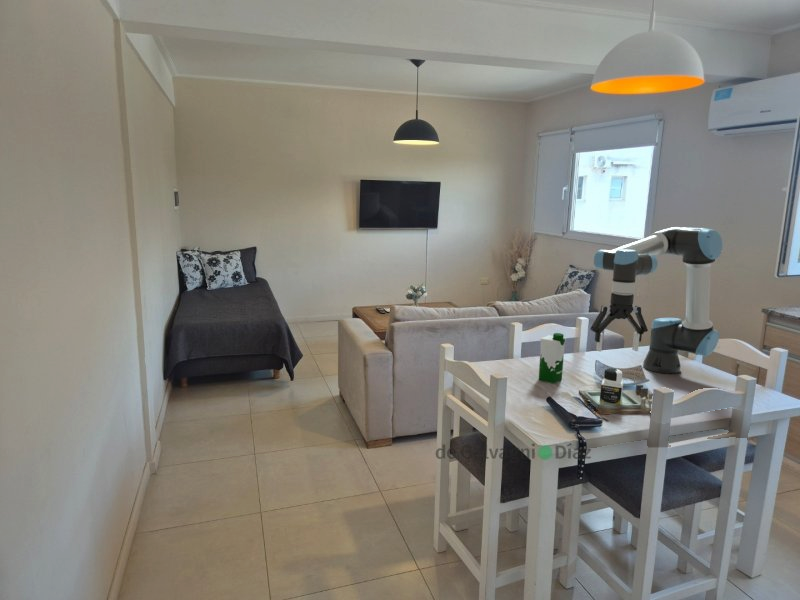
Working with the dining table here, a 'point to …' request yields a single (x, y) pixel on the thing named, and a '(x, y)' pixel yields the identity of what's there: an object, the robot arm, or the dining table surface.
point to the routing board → (623, 401)
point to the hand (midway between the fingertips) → (616, 350)
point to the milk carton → (552, 358)
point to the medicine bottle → (612, 387)
